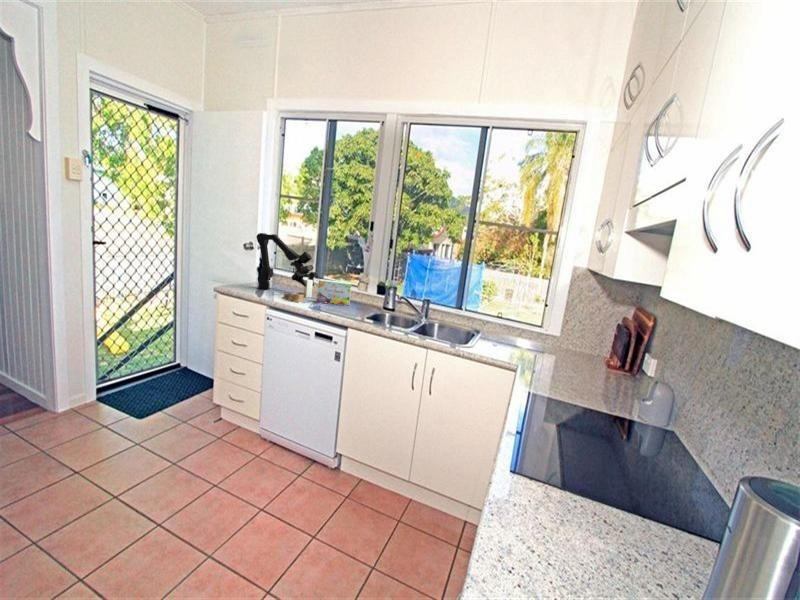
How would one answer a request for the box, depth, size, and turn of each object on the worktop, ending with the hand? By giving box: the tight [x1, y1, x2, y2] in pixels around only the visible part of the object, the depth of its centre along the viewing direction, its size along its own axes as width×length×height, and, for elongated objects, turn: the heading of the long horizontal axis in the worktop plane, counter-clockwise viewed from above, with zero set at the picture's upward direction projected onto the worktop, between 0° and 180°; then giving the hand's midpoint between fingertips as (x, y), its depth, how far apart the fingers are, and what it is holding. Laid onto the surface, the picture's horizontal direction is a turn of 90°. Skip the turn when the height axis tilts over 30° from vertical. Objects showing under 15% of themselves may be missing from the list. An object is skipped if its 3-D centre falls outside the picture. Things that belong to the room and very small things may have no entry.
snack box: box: [316, 278, 352, 306], centre depth 251 cm, size 21×6×15 cm, turn 92°
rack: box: [283, 292, 307, 300], centre depth 253 cm, size 6×14×3 cm, turn 147°
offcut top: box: [290, 292, 305, 300], centre depth 244 cm, size 7×4×2 cm, turn 65°
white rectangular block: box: [302, 279, 314, 299], centre depth 261 cm, size 3×5×12 cm, turn 148°
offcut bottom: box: [289, 297, 305, 304], centre depth 244 cm, size 8×5×2 cm, turn 56°
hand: (309, 286), depth 260 cm, fingers open, 7 cm apart
